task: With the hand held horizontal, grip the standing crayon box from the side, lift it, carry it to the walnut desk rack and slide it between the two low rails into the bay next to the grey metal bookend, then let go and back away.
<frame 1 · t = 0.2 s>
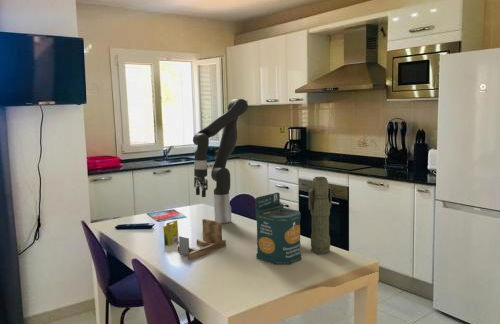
hand: (200, 196, 248), 18 cm above the table, tool pointing down, fingers open, 8 cm apart
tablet: (166, 216, 277), on the table
bookend: (186, 255, 200), on the table
donation box: (281, 258, 193), on the table
thermos: (320, 251, 200), on the table
crayon box: (171, 244, 218), on the table
rack: (199, 250, 206), on the table
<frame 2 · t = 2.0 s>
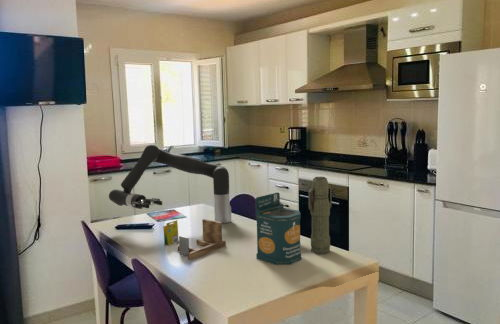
hand: (155, 204, 222), 19 cm above the table, tool horizontal, fingers open, 8 cm apart
nothing on the table moved.
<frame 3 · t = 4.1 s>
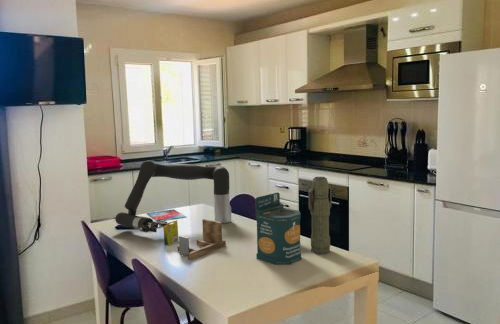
hand: (162, 228, 221), 7 cm above the table, tool horizontal, fingers open, 8 cm apart
nothing on the table moved.
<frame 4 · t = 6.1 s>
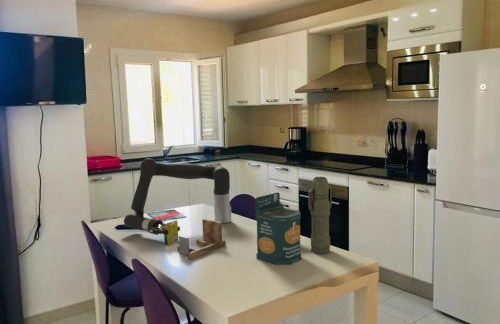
hand: (173, 230, 216), 7 cm above the table, tool horizontal, fingers closed on crayon box, 7 cm apart
crayon box: (171, 243, 218), on the table, touching gripper
everything else where it was.
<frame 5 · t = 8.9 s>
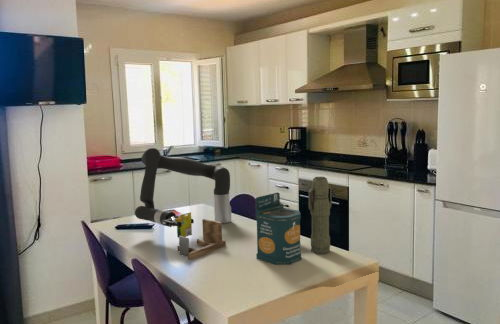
hand: (187, 223, 209), 12 cm above the table, tool horizontal, fingers closed on crayon box, 7 cm apart
crayon box: (184, 236, 211), point 5 cm above the table, touching gripper
everything else where it was.
when the fingers open (8 cm above the table, at t = 12.0 s): crayon box stays where it is, on the table.
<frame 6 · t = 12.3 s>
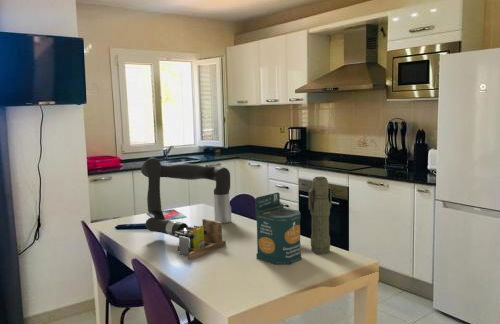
hand: (199, 234, 205), 8 cm above the table, tool horizontal, fingers open, 8 cm apart
crayon box: (197, 250, 207), on the table
everything else where it was.
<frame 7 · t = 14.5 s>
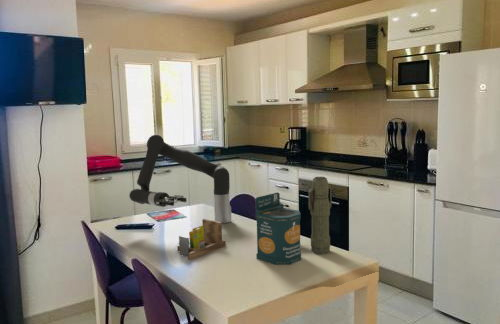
hand: (179, 201, 217), 21 cm above the table, tool horizontal, fingers open, 8 cm apart
nothing on the table moved.
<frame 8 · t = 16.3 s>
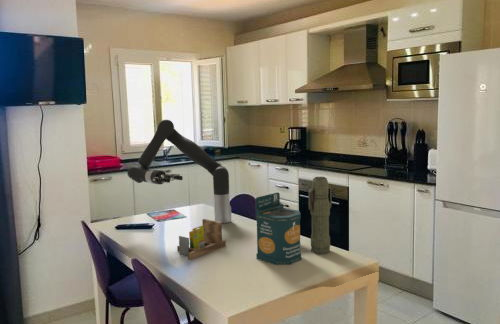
hand: (175, 179, 220), 32 cm above the table, tool horizontal, fingers open, 8 cm apart
nothing on the table moved.
at the end: crayon box 1.1 cm from the rack (horizontally); crayon box tilted 0°; the gripper is holding nothing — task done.
